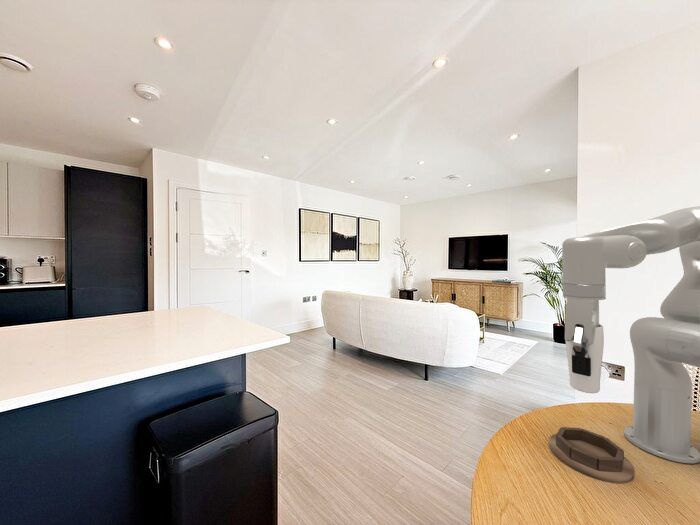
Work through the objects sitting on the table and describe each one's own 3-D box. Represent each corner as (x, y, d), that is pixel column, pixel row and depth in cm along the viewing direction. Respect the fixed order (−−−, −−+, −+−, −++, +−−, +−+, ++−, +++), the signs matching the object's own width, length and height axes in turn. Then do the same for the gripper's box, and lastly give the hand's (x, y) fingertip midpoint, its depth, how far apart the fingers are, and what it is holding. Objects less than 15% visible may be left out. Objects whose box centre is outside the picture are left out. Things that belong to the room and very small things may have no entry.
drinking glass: (612, 397, 60) (611, 328, 60) (576, 395, 62) (575, 327, 61) (591, 383, 67) (591, 320, 67) (559, 381, 68) (558, 320, 68)
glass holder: (557, 429, 76) (557, 416, 76) (636, 459, 64) (637, 444, 64) (540, 454, 66) (541, 440, 66) (631, 495, 54) (631, 478, 54)
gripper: (571, 286, 72) (571, 355, 73) (553, 294, 61) (554, 376, 61) (610, 288, 67) (611, 363, 67) (599, 297, 55) (600, 387, 56)
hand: (584, 368), depth 64 cm, fingers closed on drinking glass, 6 cm apart
